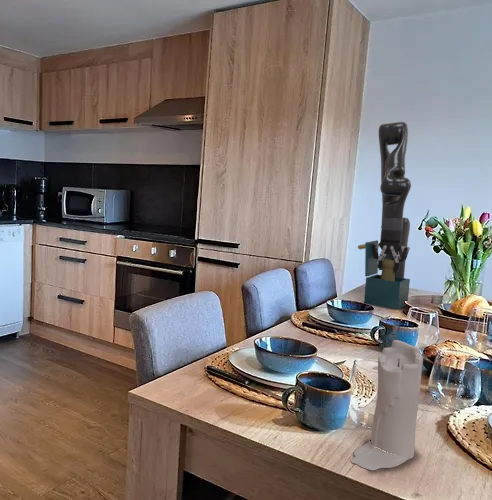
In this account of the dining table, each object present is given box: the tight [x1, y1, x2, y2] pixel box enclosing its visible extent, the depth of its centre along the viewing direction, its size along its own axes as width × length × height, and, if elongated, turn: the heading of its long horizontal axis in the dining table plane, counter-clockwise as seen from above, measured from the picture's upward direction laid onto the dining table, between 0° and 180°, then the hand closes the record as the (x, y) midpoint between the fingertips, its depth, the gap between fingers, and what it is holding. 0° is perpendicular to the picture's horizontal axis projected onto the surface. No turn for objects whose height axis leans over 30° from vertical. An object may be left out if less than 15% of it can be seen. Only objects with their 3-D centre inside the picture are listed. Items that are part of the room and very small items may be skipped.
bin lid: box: [357, 239, 379, 277], centre depth 207 cm, size 14×11×5 cm
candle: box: [350, 339, 424, 471], centre depth 89 cm, size 7×14×20 cm, turn 125°
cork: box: [380, 259, 396, 281], centre depth 201 cm, size 6×6×11 cm
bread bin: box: [363, 273, 411, 310], centre depth 202 cm, size 13×11×11 cm
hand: (388, 270), depth 201 cm, fingers closed on cork, 5 cm apart
